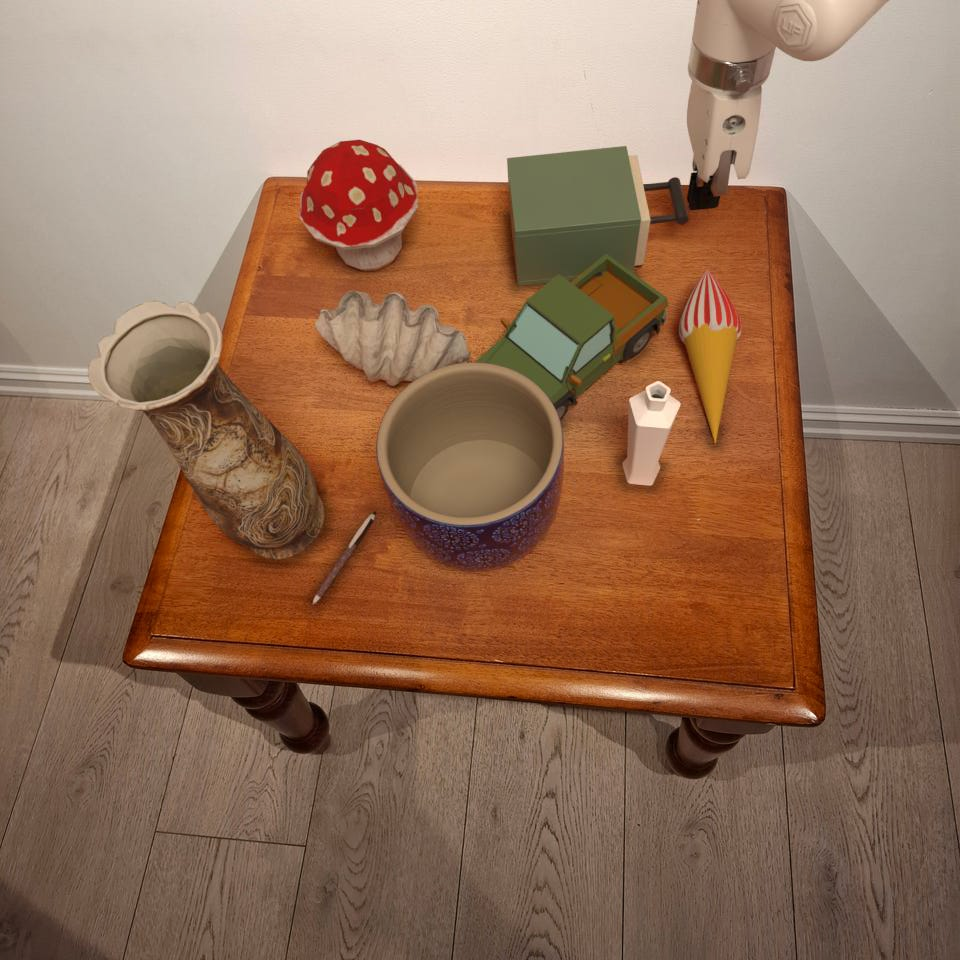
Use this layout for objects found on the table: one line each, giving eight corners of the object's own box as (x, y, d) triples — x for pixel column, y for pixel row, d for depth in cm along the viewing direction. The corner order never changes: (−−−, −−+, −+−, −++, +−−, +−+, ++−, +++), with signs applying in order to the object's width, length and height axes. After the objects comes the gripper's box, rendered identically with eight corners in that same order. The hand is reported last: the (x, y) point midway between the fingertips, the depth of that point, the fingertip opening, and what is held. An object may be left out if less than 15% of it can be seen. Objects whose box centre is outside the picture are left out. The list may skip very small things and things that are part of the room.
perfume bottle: (669, 485, 86) (692, 408, 72) (627, 493, 86) (642, 417, 72) (657, 446, 88) (677, 365, 75) (616, 454, 88) (629, 374, 74)
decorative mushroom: (413, 303, 99) (392, 209, 85) (301, 289, 101) (264, 195, 87) (439, 215, 105) (424, 114, 91) (333, 203, 107) (303, 103, 93)
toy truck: (464, 390, 93) (455, 336, 84) (598, 280, 98) (604, 218, 89) (537, 455, 88) (536, 404, 80) (673, 336, 94) (686, 276, 85)
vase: (315, 572, 84) (208, 419, 57) (215, 559, 86) (65, 404, 59) (339, 480, 89) (250, 299, 62) (244, 469, 90) (117, 287, 63)
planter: (589, 478, 87) (597, 402, 73) (514, 615, 81) (508, 559, 68) (451, 417, 91) (434, 334, 78) (370, 542, 85) (338, 476, 72)
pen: (373, 511, 87) (371, 507, 86) (379, 515, 86) (377, 511, 86) (310, 603, 83) (307, 600, 82) (316, 607, 82) (314, 604, 82)
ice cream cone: (697, 455, 92) (690, 286, 96) (755, 447, 88) (745, 271, 93) (673, 443, 87) (667, 266, 92) (732, 433, 83) (723, 249, 88)
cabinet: (620, 204, 103) (626, 145, 95) (633, 275, 98) (641, 218, 90) (509, 215, 104) (506, 157, 96) (517, 286, 99) (515, 231, 91)
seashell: (373, 306, 99) (356, 247, 90) (479, 359, 94) (472, 303, 86) (320, 369, 95) (297, 314, 86) (427, 427, 91) (414, 375, 82)
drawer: (671, 198, 102) (680, 150, 95) (686, 261, 98) (696, 215, 91) (528, 212, 103) (527, 165, 96) (536, 275, 98) (535, 231, 92)
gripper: (791, 104, 74) (750, 251, 90) (755, -1, 81) (723, 153, 97) (705, 114, 74) (679, 258, 90) (676, 9, 81) (657, 160, 97)
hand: (702, 203), depth 94 cm, fingers closed
